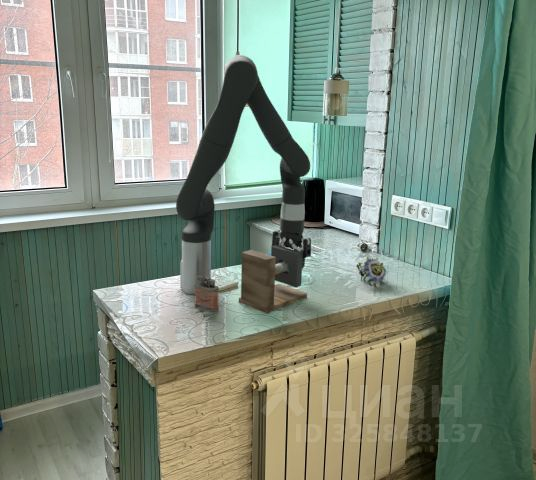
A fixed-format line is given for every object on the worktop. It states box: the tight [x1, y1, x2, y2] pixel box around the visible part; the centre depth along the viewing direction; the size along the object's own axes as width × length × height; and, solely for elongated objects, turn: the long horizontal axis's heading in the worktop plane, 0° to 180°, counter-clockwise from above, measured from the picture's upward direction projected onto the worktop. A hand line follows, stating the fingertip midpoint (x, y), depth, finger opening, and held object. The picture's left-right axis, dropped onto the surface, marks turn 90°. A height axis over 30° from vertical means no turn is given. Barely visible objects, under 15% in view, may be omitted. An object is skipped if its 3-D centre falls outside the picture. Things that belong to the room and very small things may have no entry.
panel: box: [270, 245, 303, 289], centre depth 167 cm, size 2×11×11 cm, turn 48°
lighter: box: [194, 276, 220, 314], centre depth 155 cm, size 8×3×10 cm, turn 59°
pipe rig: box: [238, 249, 308, 315], centre depth 164 cm, size 20×12×16 cm, turn 138°
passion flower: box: [356, 255, 389, 289], centre depth 182 cm, size 11×11×12 cm
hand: (290, 265), depth 169 cm, fingers open, 8 cm apart
